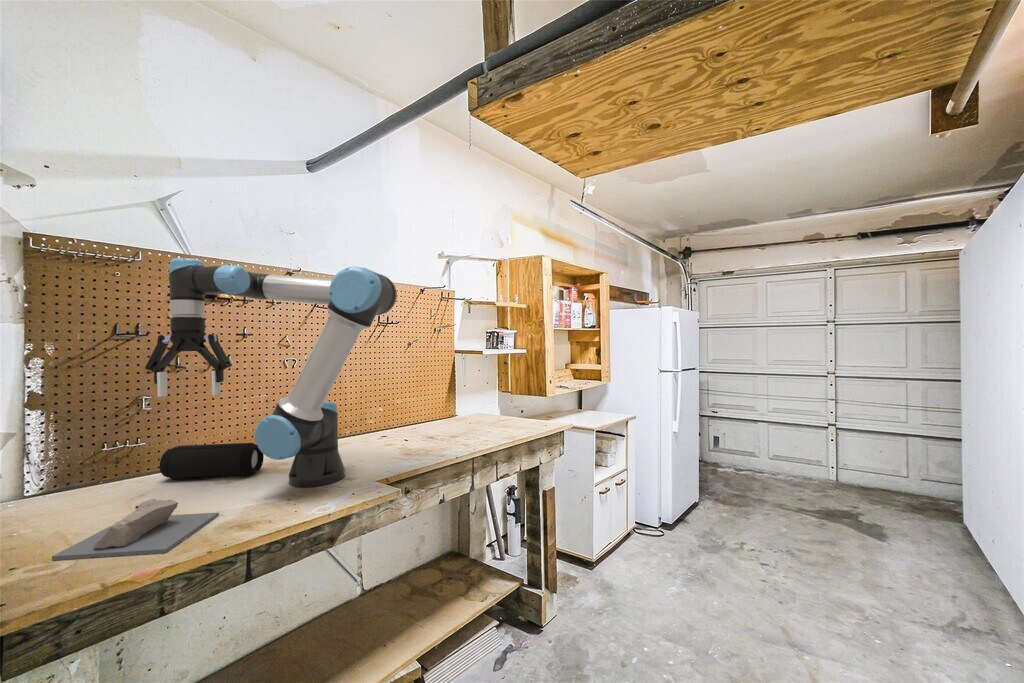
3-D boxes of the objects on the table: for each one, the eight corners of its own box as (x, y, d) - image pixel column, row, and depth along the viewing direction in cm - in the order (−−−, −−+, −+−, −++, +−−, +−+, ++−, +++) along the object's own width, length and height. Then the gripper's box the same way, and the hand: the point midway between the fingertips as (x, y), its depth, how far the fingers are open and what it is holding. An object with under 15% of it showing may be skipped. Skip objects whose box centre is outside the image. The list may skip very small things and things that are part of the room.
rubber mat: (218, 515, 102) (218, 512, 102) (165, 553, 84) (165, 549, 84) (126, 521, 100) (126, 517, 100) (51, 560, 82) (51, 556, 82)
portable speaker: (265, 470, 138) (264, 439, 138) (249, 480, 129) (249, 446, 129) (180, 474, 136) (179, 442, 136) (157, 484, 126) (156, 450, 126)
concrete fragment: (86, 549, 84) (85, 518, 84) (158, 519, 98) (157, 493, 98) (115, 552, 83) (114, 520, 83) (184, 521, 97) (183, 494, 96)
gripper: (243, 316, 122) (245, 392, 122) (148, 318, 119) (150, 395, 119) (229, 315, 114) (231, 395, 114) (126, 316, 112) (128, 398, 112)
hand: (189, 395), depth 117 cm, fingers open, 13 cm apart
